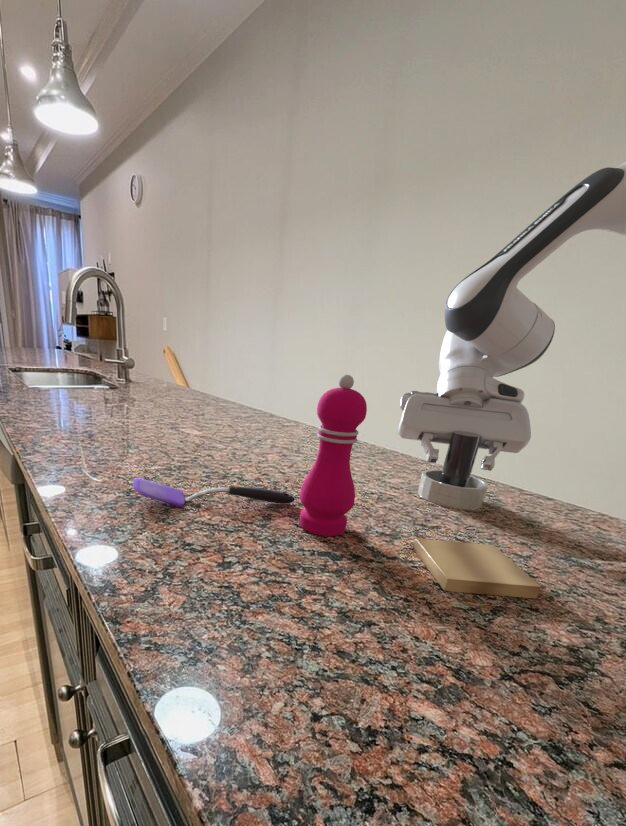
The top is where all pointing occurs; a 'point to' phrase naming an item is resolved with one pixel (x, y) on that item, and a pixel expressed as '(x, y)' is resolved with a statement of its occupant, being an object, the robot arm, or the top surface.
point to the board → (474, 569)
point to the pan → (452, 491)
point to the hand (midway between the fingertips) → (459, 464)
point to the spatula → (179, 499)
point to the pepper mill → (333, 461)
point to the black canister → (460, 458)
